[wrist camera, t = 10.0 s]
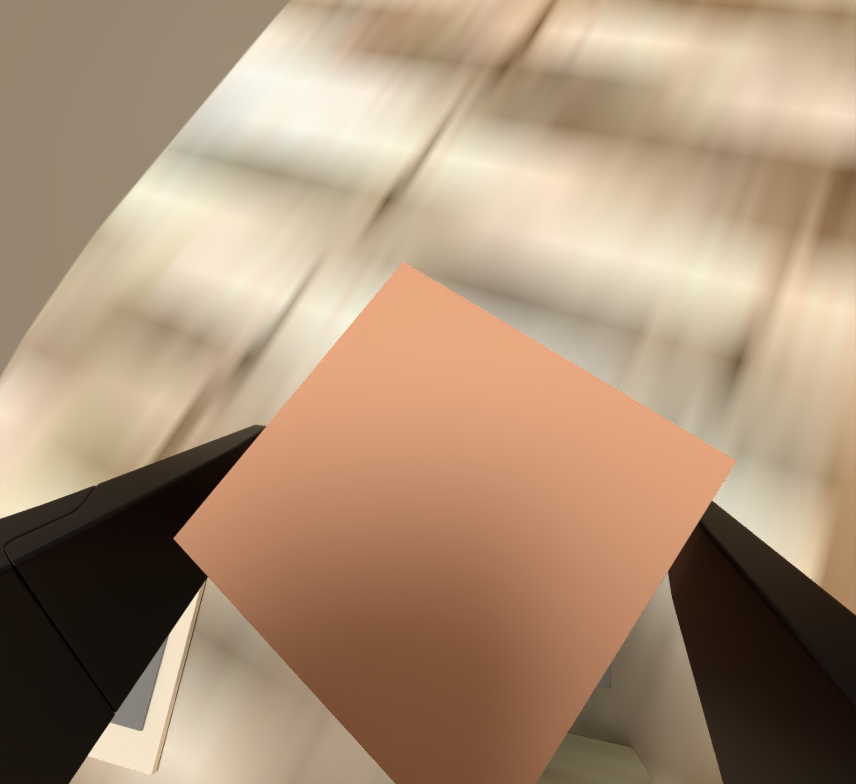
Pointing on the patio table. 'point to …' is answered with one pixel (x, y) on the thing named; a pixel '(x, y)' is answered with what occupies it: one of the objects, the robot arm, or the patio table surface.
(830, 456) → the patio table surface
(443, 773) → the terracotta block
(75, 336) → the patio table surface
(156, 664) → the card
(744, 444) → the patio table surface
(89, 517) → the robot arm
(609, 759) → the sage cube
